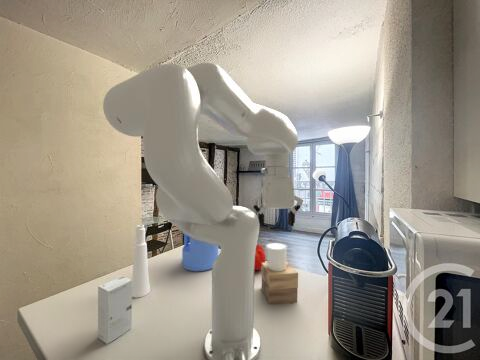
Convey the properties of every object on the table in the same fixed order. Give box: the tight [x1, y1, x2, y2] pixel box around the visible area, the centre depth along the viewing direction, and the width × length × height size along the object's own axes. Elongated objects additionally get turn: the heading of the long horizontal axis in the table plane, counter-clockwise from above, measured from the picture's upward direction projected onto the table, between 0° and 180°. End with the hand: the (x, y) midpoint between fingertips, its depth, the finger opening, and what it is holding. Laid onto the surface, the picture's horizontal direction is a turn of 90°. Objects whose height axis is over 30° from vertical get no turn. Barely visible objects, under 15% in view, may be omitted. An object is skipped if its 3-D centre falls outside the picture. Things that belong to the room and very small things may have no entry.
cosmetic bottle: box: [131, 224, 152, 299], centre depth 66 cm, size 6×6×22 cm
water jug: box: [181, 231, 219, 272], centre depth 88 cm, size 16×16×28 cm
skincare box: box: [97, 276, 133, 345], centre depth 50 cm, size 6×4×12 cm
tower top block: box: [261, 260, 299, 290], centre depth 66 cm, size 9×9×4 cm
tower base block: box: [261, 276, 299, 305], centre depth 66 cm, size 9×9×4 cm
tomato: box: [254, 244, 267, 271], centre depth 85 cm, size 11×12×9 cm
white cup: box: [265, 242, 288, 271], centre depth 66 cm, size 7×7×7 cm
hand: (276, 225), depth 66 cm, fingers open, 9 cm apart
